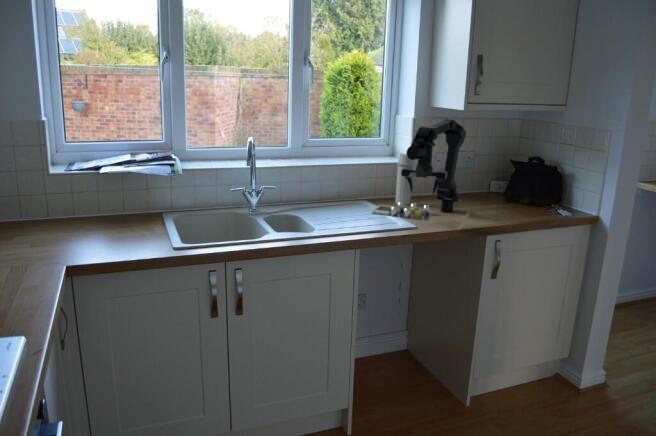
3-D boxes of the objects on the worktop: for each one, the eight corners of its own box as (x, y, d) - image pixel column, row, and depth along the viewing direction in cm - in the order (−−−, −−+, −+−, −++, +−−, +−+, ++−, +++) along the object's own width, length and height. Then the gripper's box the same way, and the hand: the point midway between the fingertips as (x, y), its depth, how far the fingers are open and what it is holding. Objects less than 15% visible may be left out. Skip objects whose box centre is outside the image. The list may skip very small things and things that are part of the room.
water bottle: (413, 206, 256) (417, 155, 250) (399, 207, 253) (402, 155, 247) (404, 202, 264) (407, 152, 258) (390, 202, 262) (393, 153, 255)
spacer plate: (379, 209, 248) (380, 199, 247) (432, 216, 239) (433, 205, 238) (371, 215, 236) (371, 205, 235) (426, 222, 227) (427, 211, 226)
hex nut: (409, 216, 233) (409, 209, 233) (412, 213, 238) (412, 207, 238) (420, 217, 232) (420, 211, 231) (422, 214, 237) (423, 208, 236)
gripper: (399, 158, 217) (397, 195, 221) (444, 161, 211) (441, 199, 215) (404, 154, 227) (402, 189, 231) (448, 157, 221) (445, 193, 225)
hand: (422, 193), depth 226 cm, fingers open, 9 cm apart
